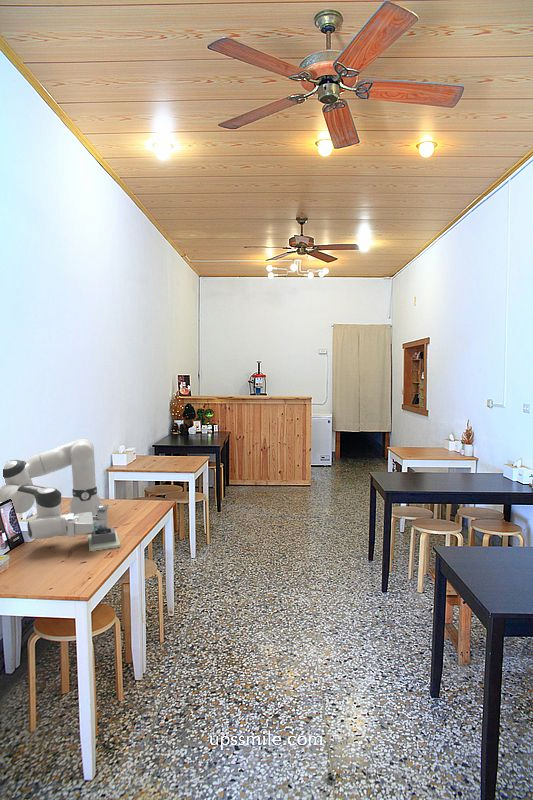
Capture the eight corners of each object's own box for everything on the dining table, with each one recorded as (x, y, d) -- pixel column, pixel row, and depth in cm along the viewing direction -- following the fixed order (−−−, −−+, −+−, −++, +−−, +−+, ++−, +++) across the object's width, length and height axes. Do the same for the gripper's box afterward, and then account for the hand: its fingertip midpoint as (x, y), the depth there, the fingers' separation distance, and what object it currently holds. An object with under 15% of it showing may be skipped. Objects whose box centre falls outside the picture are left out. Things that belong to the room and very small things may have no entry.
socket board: (88, 537, 222) (87, 527, 222) (116, 533, 226) (115, 523, 226) (89, 552, 204) (88, 540, 203) (120, 547, 208) (119, 536, 208)
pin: (96, 535, 216) (94, 505, 216) (109, 533, 218) (108, 503, 218) (96, 539, 211) (95, 508, 211) (110, 537, 213) (108, 506, 212)
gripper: (70, 524, 220) (103, 520, 225) (70, 538, 201) (106, 533, 206) (69, 510, 219) (102, 506, 224) (69, 523, 200) (105, 518, 205)
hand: (104, 519), depth 215 cm, fingers closed on pin, 4 cm apart
